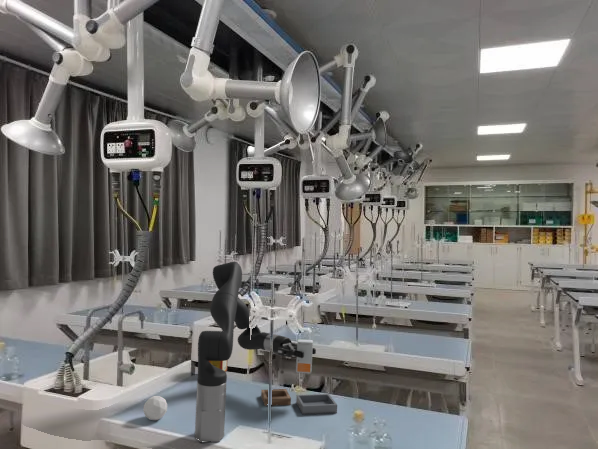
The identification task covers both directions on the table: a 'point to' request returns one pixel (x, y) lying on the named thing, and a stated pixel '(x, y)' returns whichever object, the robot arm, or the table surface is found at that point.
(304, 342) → the skincare box
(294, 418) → the table surface
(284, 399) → the socket block
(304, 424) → the table surface
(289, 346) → the robot arm
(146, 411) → the geometric ball
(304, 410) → the tray
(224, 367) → the baking soda box
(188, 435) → the table surface
